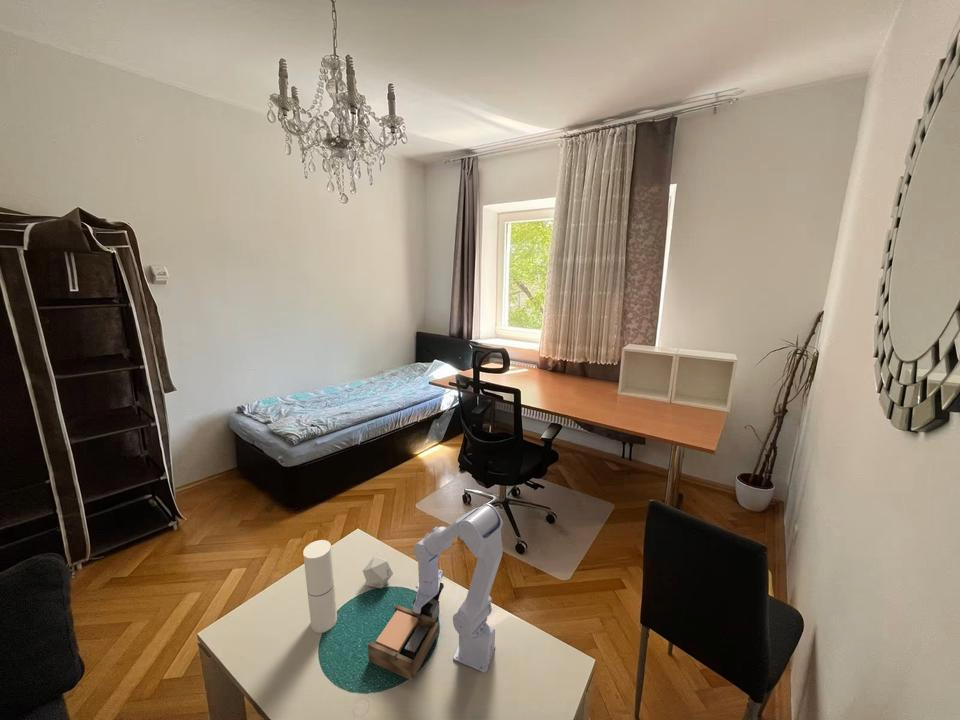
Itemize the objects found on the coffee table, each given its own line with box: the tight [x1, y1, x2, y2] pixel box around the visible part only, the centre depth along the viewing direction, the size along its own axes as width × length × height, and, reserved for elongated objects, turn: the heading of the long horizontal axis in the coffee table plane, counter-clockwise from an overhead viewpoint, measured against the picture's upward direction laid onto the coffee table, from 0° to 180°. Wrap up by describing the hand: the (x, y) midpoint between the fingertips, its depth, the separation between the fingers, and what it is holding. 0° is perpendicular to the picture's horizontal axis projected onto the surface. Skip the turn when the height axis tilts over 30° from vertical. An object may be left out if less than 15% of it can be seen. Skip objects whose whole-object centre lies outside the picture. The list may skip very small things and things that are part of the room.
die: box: [362, 556, 394, 589], centre depth 124 cm, size 8×9×10 cm
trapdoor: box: [375, 610, 428, 659], centre depth 102 cm, size 11×10×2 cm
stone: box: [428, 599, 440, 620], centre depth 112 cm, size 4×4×4 cm
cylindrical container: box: [302, 539, 338, 634], centre depth 107 cm, size 7×7×25 cm
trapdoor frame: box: [367, 604, 440, 681], centre depth 102 cm, size 14×13×6 cm
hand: (429, 613), depth 112 cm, fingers closed on stone, 4 cm apart
